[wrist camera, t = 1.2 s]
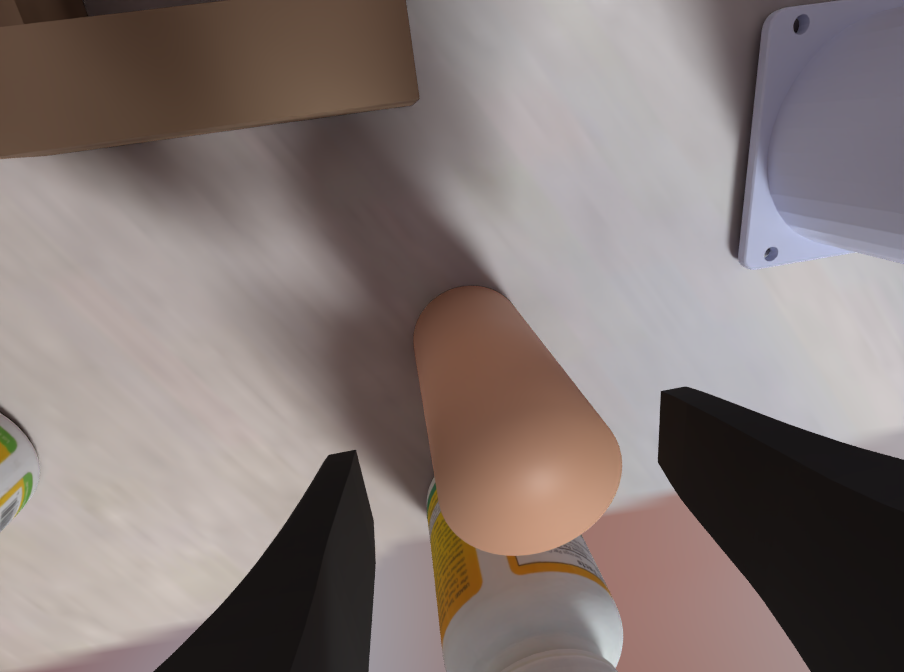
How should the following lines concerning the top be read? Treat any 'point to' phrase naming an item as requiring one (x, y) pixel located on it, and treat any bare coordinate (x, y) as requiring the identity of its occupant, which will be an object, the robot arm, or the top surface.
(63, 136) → the socket
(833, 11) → the robot arm
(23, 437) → the supplement bottle
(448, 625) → the supplement bottle
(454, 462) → the peg
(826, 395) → the top surface
